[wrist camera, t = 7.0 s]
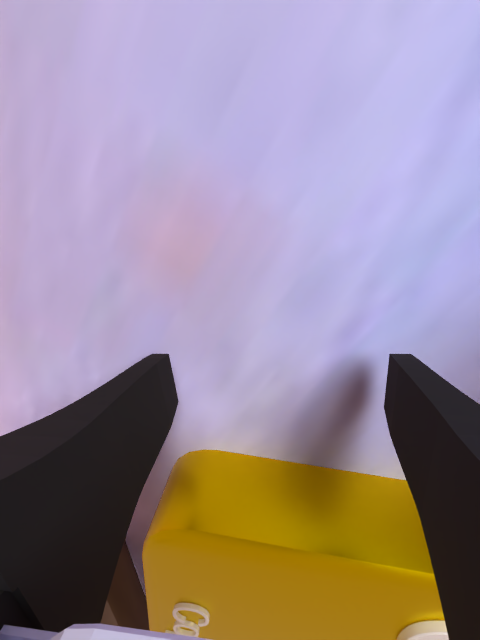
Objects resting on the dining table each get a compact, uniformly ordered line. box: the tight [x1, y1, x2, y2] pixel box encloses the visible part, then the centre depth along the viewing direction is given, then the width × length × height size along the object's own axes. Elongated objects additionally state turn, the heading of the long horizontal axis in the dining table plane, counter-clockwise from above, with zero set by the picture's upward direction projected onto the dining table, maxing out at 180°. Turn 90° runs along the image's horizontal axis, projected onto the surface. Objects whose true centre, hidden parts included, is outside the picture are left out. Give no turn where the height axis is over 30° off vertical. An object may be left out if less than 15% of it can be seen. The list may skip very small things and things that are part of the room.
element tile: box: [142, 450, 449, 640], centre depth 17 cm, size 15×15×5 cm
